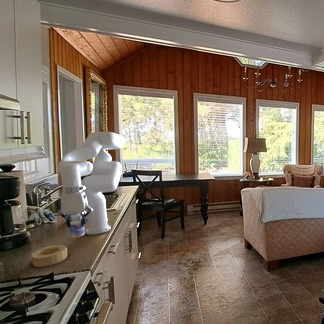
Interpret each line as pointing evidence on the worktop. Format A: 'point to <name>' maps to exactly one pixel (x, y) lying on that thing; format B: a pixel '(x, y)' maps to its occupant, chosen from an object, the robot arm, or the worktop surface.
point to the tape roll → (49, 255)
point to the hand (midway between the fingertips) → (77, 225)
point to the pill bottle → (76, 226)
